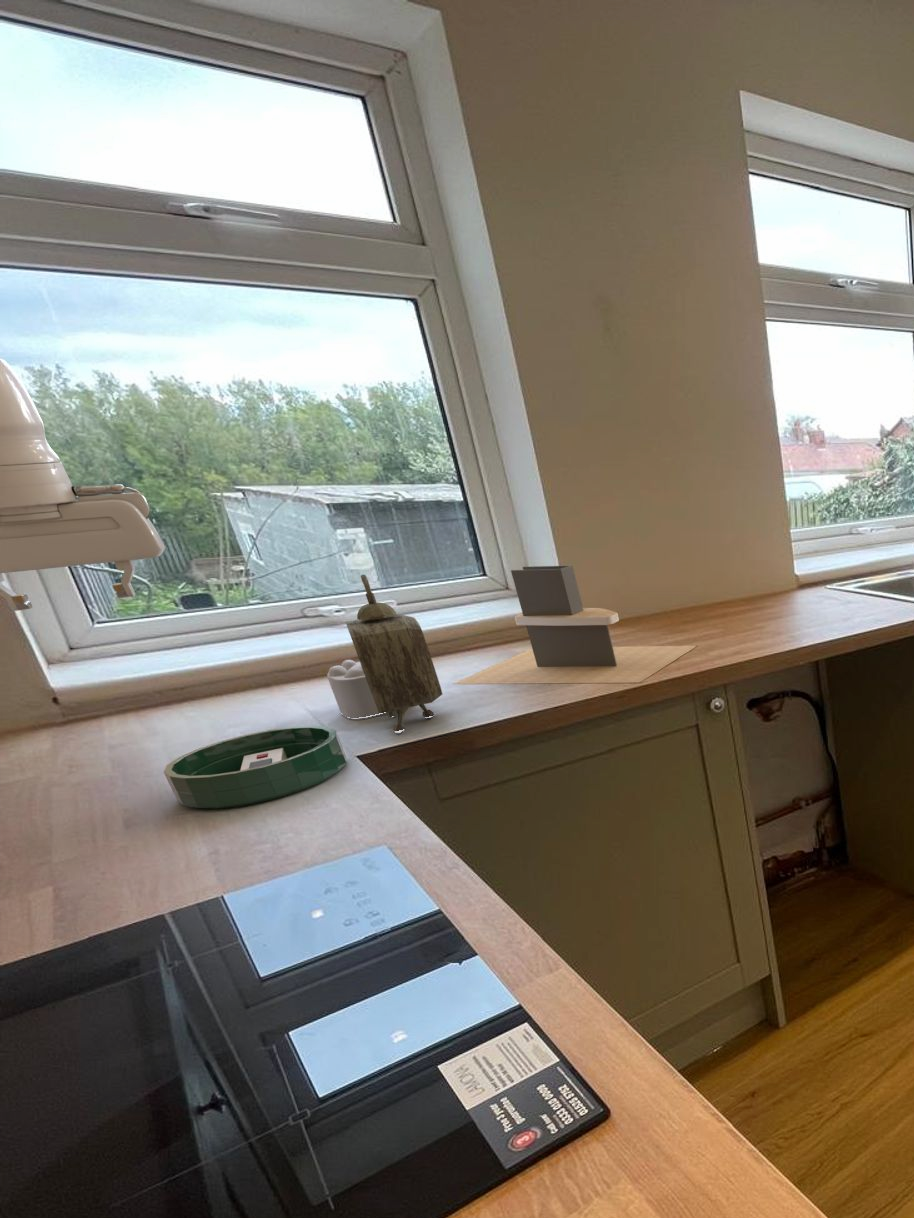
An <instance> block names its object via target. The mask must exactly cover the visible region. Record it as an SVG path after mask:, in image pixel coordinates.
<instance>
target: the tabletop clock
mask: <svg viewBox="0 0 914 1218" xmlns="http://www.w3.org/2000/svg"><path fill="white" fill-rule="evenodd" d="M360 578H361V582H362V584H363V586H364V590H365V597H366V600H367V602H368V603H366V604H364V605H362V606H361V607H360V608H359V609H358V612H357V615H356V616H357V617H356V619H355V620H350V621H349V620H348V621H345V624H346V628H347V630H348V633H349V635H350V638H351V641H352V644H353V647H354V649H355V652H356V655H357V657H358V662H360V663H361V666H362V669H363V672H364V674H365V677H366V680H367V683H368V685H369V688H370V691H371V694H372V696H373V699H374V702H375V704H376V707H377V710H378V712H379V713H384V712H386V714H385V715H386V716H387V717H388V718H391V717H392V716H396V715H397V716H396V718H397V719H396V722H397V723H396V724H394V725H393V727H392V731H393V732H394V731H399V730H403V729H405V730H406V727H405V726H404V725H403V724H402V723H403V719H404V716H405V713H406V712H407V710H408V709H409V708H408V707H410V708H412V707H417V706H419V707H420V709H421V710H422V717H423V716H424V717H423V718H425V717H429V716H433V715H434V716H435V712H434V711H433V710H431V709H427V707H426V705H427V704H432V703H434V702H435V701H436V700H438V699H439V698H440V697H441V696H442V695H443V690H442V687H441V684H440V681H439V677H438V674H437V671H436V668H435V666H434V661H433V659H432V656H431V653H430V649H429V647H428V644H427V641H426V638H425V635H424V632H423V630H422V629H423V628H422V627H421V625H420V623H419V622H418V620H417V619H416V618H415V617H413V616H409V615H407V614H406V615H405V614H402V613H398V612H397V611H396V610H395V608H393V607H392V606H391V605H388V604H387V603H386V602H385V603H384V602H378V601H377V599H376V596H375V594H374V592H372V588H371V586H370V583H369V579H368V577H367V576H366V574H361V575H360ZM434 716H433V717H434ZM430 719H432V718H429V719H428V720H430Z"/></svg>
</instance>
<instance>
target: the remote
mask: <svg viewBox="0 0 914 1218" xmlns="http://www.w3.org/2000/svg"><path fill="white" fill-rule="evenodd" d="M284 759H287V756H286V754H285V751H284V749H283V748H280V749H275V750H270V751H266V752H261V753H256V754H251V755H246V756H244V758H243V762H242V766H241V770H245V769H250V768H255V767H259V766H264V765H267V764H270V763H274V762H277V761H281V760H284ZM241 770H240V771H241Z"/></svg>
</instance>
